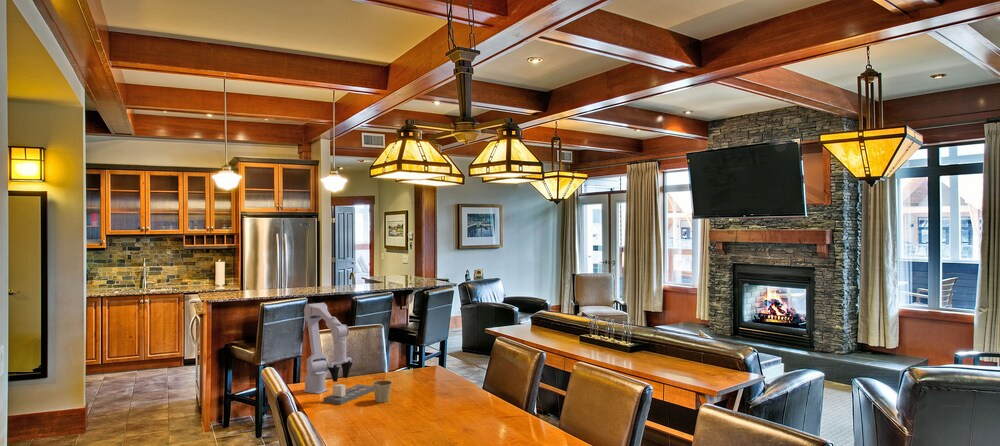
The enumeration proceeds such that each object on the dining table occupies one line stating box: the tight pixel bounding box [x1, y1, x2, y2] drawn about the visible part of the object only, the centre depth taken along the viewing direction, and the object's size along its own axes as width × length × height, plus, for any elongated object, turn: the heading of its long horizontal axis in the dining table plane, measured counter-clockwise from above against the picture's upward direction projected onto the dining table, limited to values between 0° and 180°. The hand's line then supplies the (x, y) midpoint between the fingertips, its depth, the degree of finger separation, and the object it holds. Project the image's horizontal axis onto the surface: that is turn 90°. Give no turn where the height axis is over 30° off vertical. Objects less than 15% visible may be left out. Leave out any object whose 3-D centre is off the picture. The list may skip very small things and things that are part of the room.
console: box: [323, 383, 374, 406], centre depth 280 cm, size 10×26×2 cm, turn 157°
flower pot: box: [371, 379, 393, 404], centre depth 272 cm, size 9×9×9 cm
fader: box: [332, 383, 347, 397], centre depth 272 cm, size 5×3×5 cm, turn 67°
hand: (340, 379), depth 272 cm, fingers open, 7 cm apart
